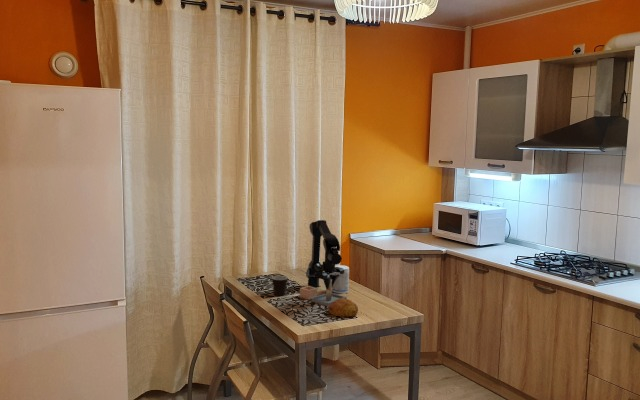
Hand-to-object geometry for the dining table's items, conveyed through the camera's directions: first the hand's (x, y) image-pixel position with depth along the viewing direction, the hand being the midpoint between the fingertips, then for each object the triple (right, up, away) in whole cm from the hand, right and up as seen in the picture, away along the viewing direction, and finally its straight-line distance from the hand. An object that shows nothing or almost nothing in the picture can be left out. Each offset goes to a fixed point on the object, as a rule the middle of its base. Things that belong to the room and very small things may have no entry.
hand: (329, 288), depth 275 cm
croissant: (+6, -10, -17) cm, 20 cm away
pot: (-11, -6, +6) cm, 14 cm away
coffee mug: (-27, -6, +10) cm, 30 cm away
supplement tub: (+7, -6, +20) cm, 22 cm away
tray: (0, -7, +1) cm, 7 cm away
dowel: (0, -6, +1) cm, 6 cm away
